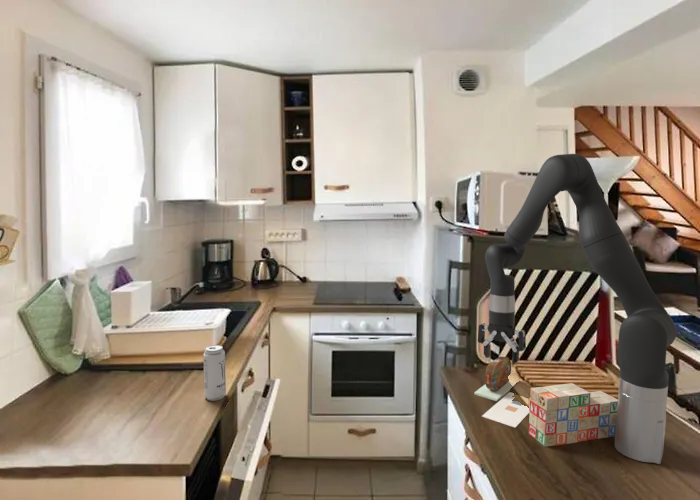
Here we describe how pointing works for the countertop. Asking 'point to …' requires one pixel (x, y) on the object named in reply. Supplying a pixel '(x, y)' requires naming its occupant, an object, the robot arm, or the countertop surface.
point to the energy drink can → (214, 372)
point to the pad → (493, 392)
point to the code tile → (507, 411)
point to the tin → (498, 373)
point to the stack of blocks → (570, 414)
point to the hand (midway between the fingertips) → (500, 360)
